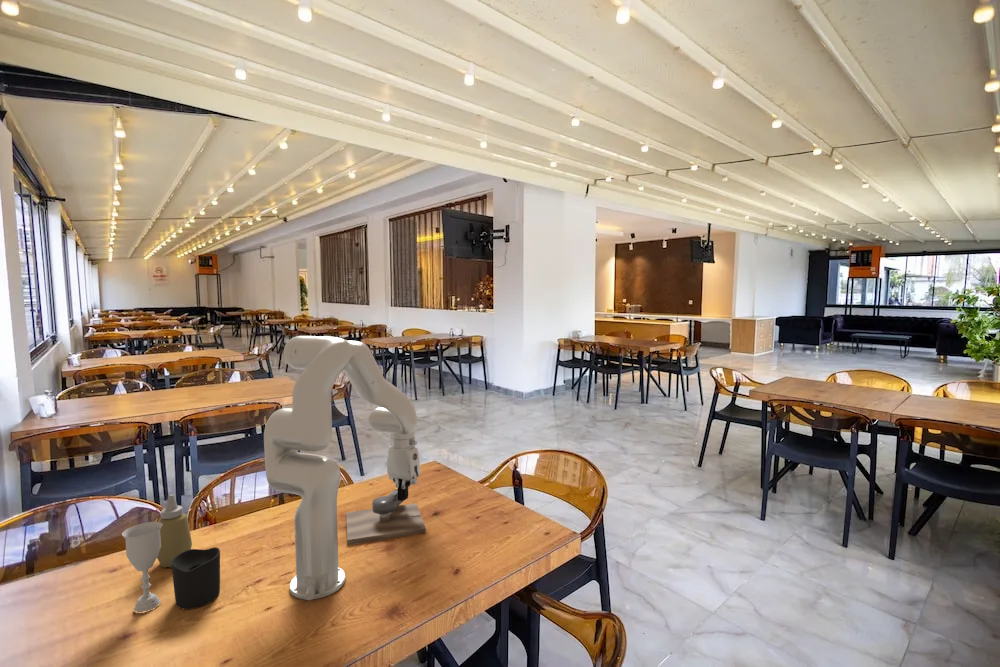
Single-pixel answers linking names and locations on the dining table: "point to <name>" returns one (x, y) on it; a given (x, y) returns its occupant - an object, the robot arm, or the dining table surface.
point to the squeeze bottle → (173, 532)
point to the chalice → (144, 557)
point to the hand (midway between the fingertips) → (402, 499)
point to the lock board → (383, 524)
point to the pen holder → (196, 577)
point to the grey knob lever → (386, 503)
